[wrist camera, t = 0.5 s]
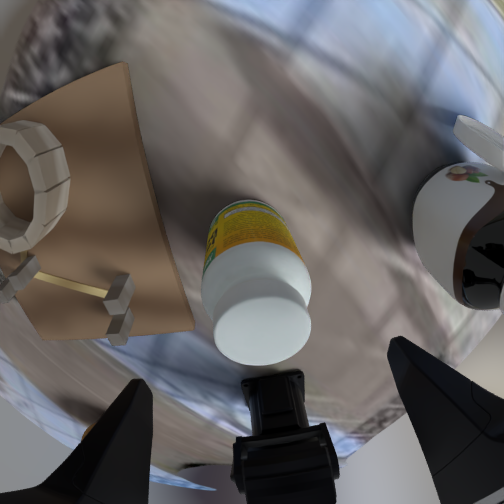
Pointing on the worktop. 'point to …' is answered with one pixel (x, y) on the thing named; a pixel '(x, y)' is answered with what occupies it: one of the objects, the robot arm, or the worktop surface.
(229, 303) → the supplement bottle
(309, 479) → the robot arm
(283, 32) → the worktop surface
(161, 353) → the worktop surface
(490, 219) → the spread jar
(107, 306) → the board
